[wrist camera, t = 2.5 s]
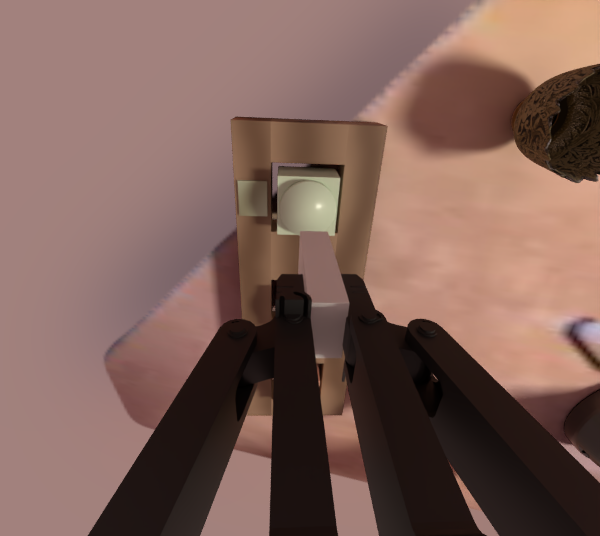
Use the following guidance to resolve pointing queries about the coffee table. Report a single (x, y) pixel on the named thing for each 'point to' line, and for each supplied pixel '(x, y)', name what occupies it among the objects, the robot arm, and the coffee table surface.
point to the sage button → (307, 200)
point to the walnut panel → (285, 248)
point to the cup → (563, 124)
